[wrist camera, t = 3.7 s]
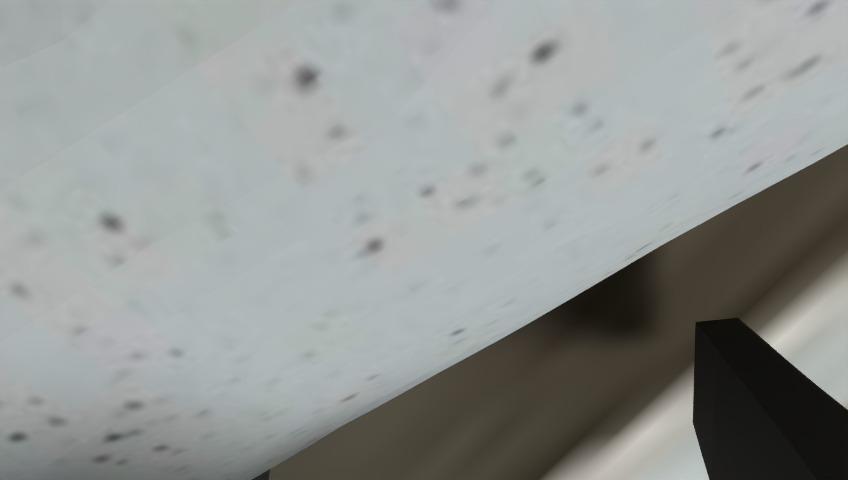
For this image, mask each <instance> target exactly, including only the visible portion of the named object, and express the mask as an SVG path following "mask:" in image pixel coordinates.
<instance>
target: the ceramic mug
mask: <svg viewBox="0 0 848 480" xmlns="http://www.w3.org/2000/svg"><path fill="white" fill-rule="evenodd" d="M847 144H848V0H0V480H252V479H254V478H255V477H257V476H259V475H261V474H262V473H264V472H266V471H267V470H269V469H271V468H272V467H274V466H276V465H278V464H279V463H281V462H283V461H284V460H286V459H288V458H290V457H291V456H293V455H295V454H296V453H298V452H300V451H301V450H303V449H305V448H307V447H308V446H310V445H312V444H313V443H315V442H316V441H318V440H320V439H321V438H323V437H325V436H326V435H328V434H329V433H331V432H333V431H334V430H336V429H337V428H339V427H341V426H343V425H345V424H346V423H348V422H350V421H352V420H354V419H356V418H358V417H360V416H361V415H363V414H365V413H367V412H369V411H371V410H373V409H375V408H376V407H378V406H380V405H382V404H384V403H385V402H387V401H389V400H391V399H393V398H394V397H396V396H398V395H400V394H401V393H403V392H405V391H407V390H409V389H410V388H412V387H414V386H416V385H418V384H419V383H421V382H423V381H425V380H427V379H428V378H430V377H432V376H434V375H435V374H437V373H439V372H441V371H443V370H445V369H446V368H448V367H450V366H452V365H454V364H456V363H458V362H459V361H461V360H463V359H465V358H467V357H469V356H470V355H472V354H474V353H476V352H478V351H480V350H482V349H483V348H485V347H487V346H489V345H491V344H493V343H495V342H496V341H498V340H500V339H502V338H503V337H505V336H507V335H509V334H510V333H512V332H514V331H516V330H518V329H519V328H521V327H523V326H525V325H526V324H528V323H530V322H532V321H533V320H535V319H537V318H539V317H540V316H542V315H544V314H546V313H547V312H549V311H551V310H552V309H554V308H556V307H558V306H559V305H561V304H563V303H565V302H566V301H568V300H570V299H571V298H573V297H575V296H576V295H578V294H580V293H582V292H583V291H585V290H587V289H588V288H590V287H592V286H593V285H595V284H597V283H598V282H600V281H602V280H604V279H605V278H607V277H609V276H610V275H612V274H614V273H615V272H617V271H619V270H620V269H622V268H624V267H626V266H627V265H629V264H631V263H632V262H634V261H636V260H637V259H639V258H641V257H642V256H644V255H646V254H648V253H649V252H651V251H653V250H654V249H656V248H658V247H659V246H661V245H663V244H664V243H666V242H668V241H670V240H672V239H674V238H675V237H677V236H679V235H681V234H683V233H685V232H686V231H688V230H690V229H692V228H694V227H696V226H697V225H699V224H701V223H703V222H705V221H707V220H708V219H710V218H712V217H714V216H716V215H717V214H719V213H721V212H723V211H725V210H727V209H728V208H730V207H732V206H734V205H736V204H738V203H739V202H741V201H743V200H745V199H747V198H749V197H751V196H753V195H754V194H756V193H758V192H760V191H762V190H764V189H766V188H768V187H769V186H771V185H773V184H775V183H777V182H779V181H781V180H783V179H784V178H786V177H788V176H790V175H792V174H794V173H796V172H798V171H799V170H801V169H803V168H805V167H807V166H809V165H811V164H813V163H814V162H816V161H818V160H820V159H822V158H823V157H825V156H827V155H829V154H830V153H832V152H834V151H836V150H838V149H839V148H841V147H843V146H845V145H847Z"/></svg>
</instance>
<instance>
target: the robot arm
mask: <svg viewBox="0 0 848 480" xmlns="http://www.w3.org/2000/svg"><path fill="white" fill-rule="evenodd" d="M693 425H694V428H695V432H696V435H697V439H698V442H699V446H700V449H701V453H702V456H703V460H704V463H705V466H706V469H707V473H708V476H709V479H710V480H848V410H847V409H846V408H845V407H843V406H842V405H841V404H840V403H838V402H837V401H836V400H834V399H833V398H832V397H831V396H829V395H828V394H827V393H826V392H824V391H823V390H822V389H821V388H819V387H818V386H817V385H816V384H815V383H813V382H812V381H811V380H810V379H809V378H807V377H806V376H805V375H804V374H803V373H801V372H800V371H799V370H798V369H797V368H796V367H794V366H793V365H792V364H791V363H790V362H788V361H787V360H786V359H785V358H784V357H783V356H782V355H780V354H779V353H778V352H777V351H776V350H775V349H773V348H772V347H771V346H770V345H769V344H768V343H767V342H765V341H764V340H763V339H762V338H761V337H760V336H759V335H757V334H756V333H755V332H754V331H753V330H752V329H750V328H749V327H748V326H747V325H746V324H745V323H743V322H742V321H741V320H740V319H738V318H732V319H722V320H712V321H702V322H696V328H695V365H694V402H693ZM269 472H270V469H269V470H267V471H266V472H264V473H262V474H261V475H259V476H257V477H255V478H254V479H252V480H268V479H269Z"/></svg>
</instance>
